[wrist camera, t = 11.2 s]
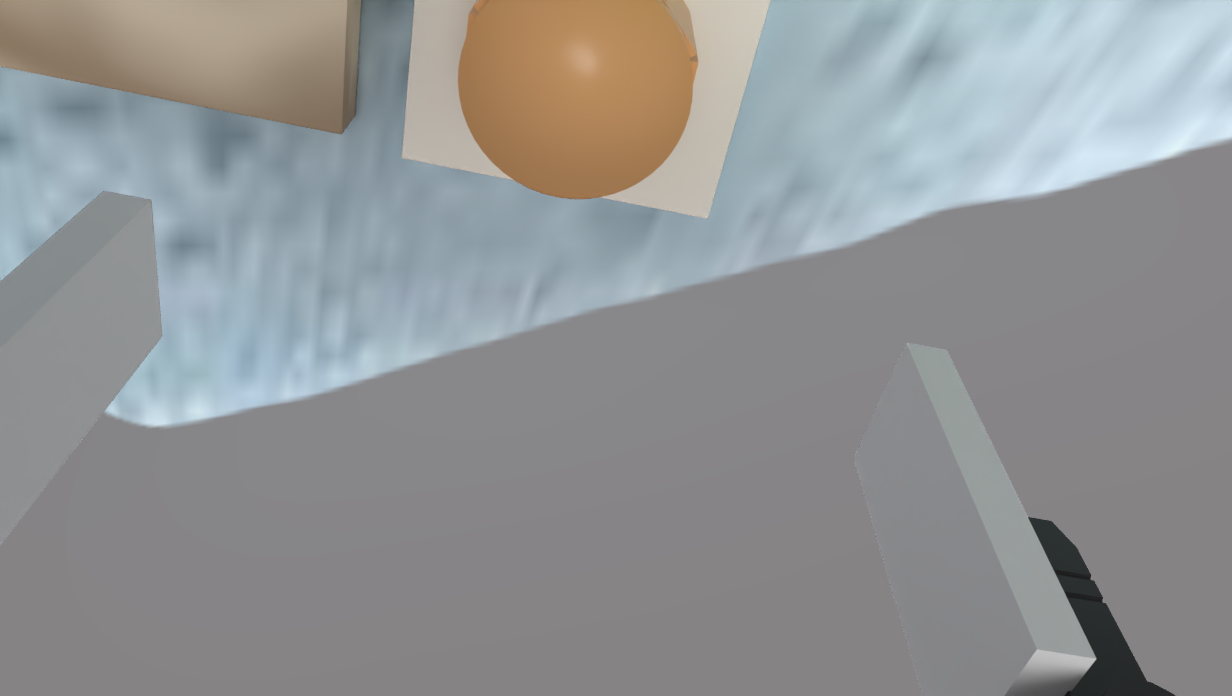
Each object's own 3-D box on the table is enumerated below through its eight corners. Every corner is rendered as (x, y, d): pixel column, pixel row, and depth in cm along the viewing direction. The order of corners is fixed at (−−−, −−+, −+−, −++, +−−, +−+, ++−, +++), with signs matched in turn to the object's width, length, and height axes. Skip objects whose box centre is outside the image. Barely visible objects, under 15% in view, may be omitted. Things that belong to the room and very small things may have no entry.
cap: (499, -94, 31) (472, -58, 26) (707, -47, 31) (719, -4, 26) (474, 109, 34) (446, 175, 29) (659, 147, 35) (662, 218, 30)
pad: (435, -201, 30) (431, -200, 29) (799, -116, 31) (802, -112, 30) (405, 150, 36) (401, 158, 36) (706, 209, 37) (707, 218, 37)
